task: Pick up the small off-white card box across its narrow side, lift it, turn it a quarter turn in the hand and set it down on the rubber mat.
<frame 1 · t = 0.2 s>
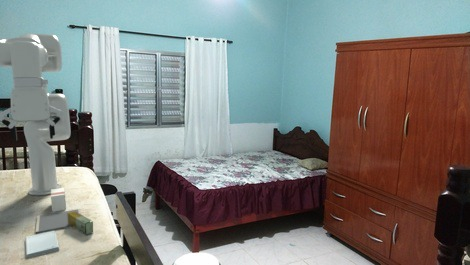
hand: (34, 139, 104), 31 cm above the table, tool pointing down, fingers open, 9 cm apart
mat: (59, 221, 117), on the table
card box: (59, 206, 130), on the table
medication box: (80, 228, 111), on the table, touching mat
hard drive: (42, 247, 101), on the table
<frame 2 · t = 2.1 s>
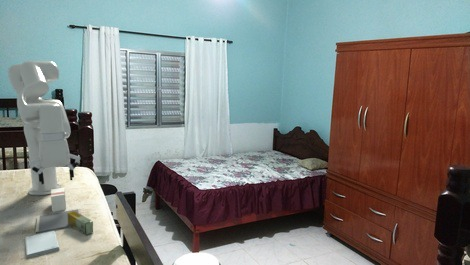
hand: (57, 181, 128), 10 cm above the table, tool pointing down, fingers open, 9 cm apart
nothing on the table moved.
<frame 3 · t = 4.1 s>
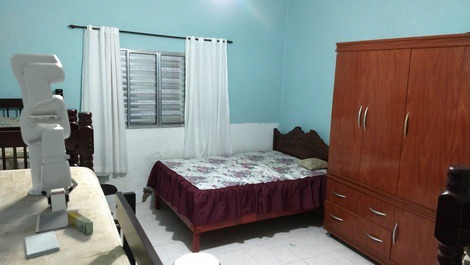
hand: (58, 204, 130), 1 cm above the table, tool pointing down, fingers closed on card box, 4 cm apart
card box: (59, 206, 130), on the table, touching gripper
everything else where it was.
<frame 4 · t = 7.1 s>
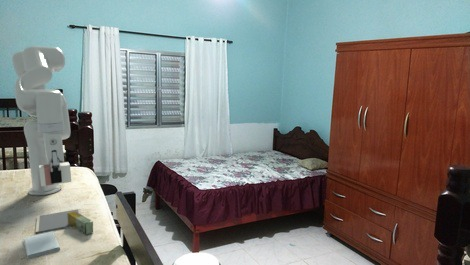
hand: (56, 180, 114), 15 cm above the table, tool pointing down, fingers closed on card box, 4 cm apart
card box: (56, 182, 114), point 14 cm above the table, touching gripper
everything else where it was.
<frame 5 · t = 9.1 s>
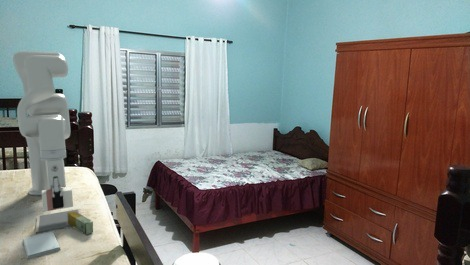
hand: (58, 204, 116), 6 cm above the table, tool pointing down, fingers closed on card box, 4 cm apart
card box: (58, 206, 116), point 5 cm above the table, touching gripper
everything else where it was.
when the fingers open (3 cm above the table, at t = 10.5 s): card box drops 1 cm, resting on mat.
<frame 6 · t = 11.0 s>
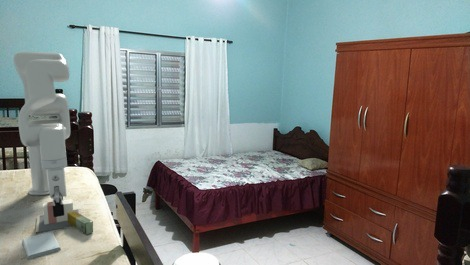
hand: (58, 210, 116), 4 cm above the table, tool pointing down, fingers open, 9 cm apart
card box: (59, 219, 117), point 1 cm above the table, touching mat
everything else where it was.
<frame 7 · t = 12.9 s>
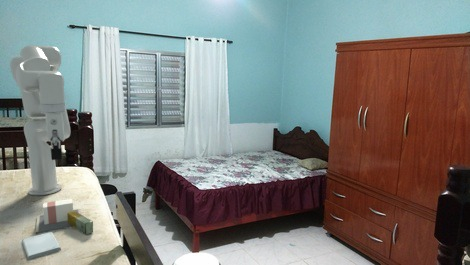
hand: (56, 155, 120), 22 cm above the table, tool pointing down, fingers open, 9 cm apart
nothing on the table moved.
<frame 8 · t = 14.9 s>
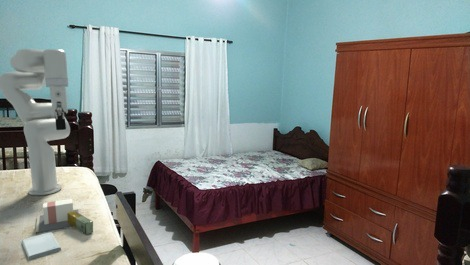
hand: (60, 127, 129), 30 cm above the table, tool pointing down, fingers open, 9 cm apart
nothing on the table moved.
at the end: card box inside the target area on the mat (0.2 cm from its centre), point 0.6 cm above the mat's base; card box tilted 0°; the gripper is holding nothing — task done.
